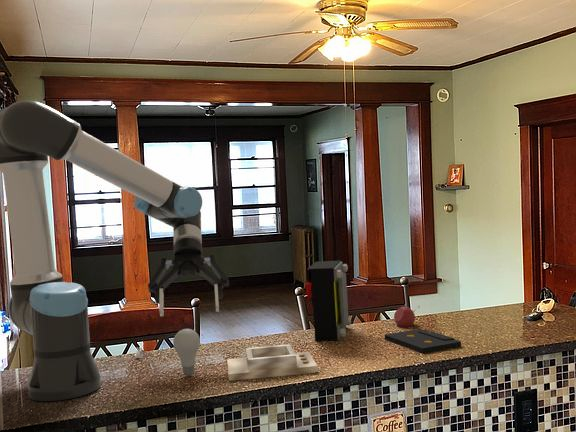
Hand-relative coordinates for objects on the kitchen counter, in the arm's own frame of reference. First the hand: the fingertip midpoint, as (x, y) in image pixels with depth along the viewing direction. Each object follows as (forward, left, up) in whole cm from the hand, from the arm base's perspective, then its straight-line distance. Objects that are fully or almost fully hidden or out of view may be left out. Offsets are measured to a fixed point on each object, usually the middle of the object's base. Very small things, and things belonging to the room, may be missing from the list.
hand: (189, 311), depth 148 cm
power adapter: (-16, +13, -14) cm, 25 cm away
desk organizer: (+18, -10, -13) cm, 25 cm away
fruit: (+62, +23, -14) cm, 68 cm away
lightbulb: (-1, -10, -14) cm, 17 cm away
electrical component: (+38, +20, -14) cm, 46 cm away
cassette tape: (+59, +2, -14) cm, 60 cm away
